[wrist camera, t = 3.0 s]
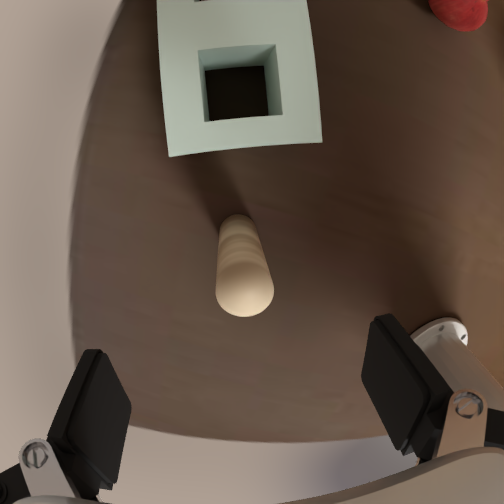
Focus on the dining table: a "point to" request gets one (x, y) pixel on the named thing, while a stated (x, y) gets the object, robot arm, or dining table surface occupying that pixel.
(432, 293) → the dining table surface
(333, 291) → the dining table surface
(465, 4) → the pomegranate
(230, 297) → the dowel
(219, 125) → the hole block
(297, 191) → the dining table surface
